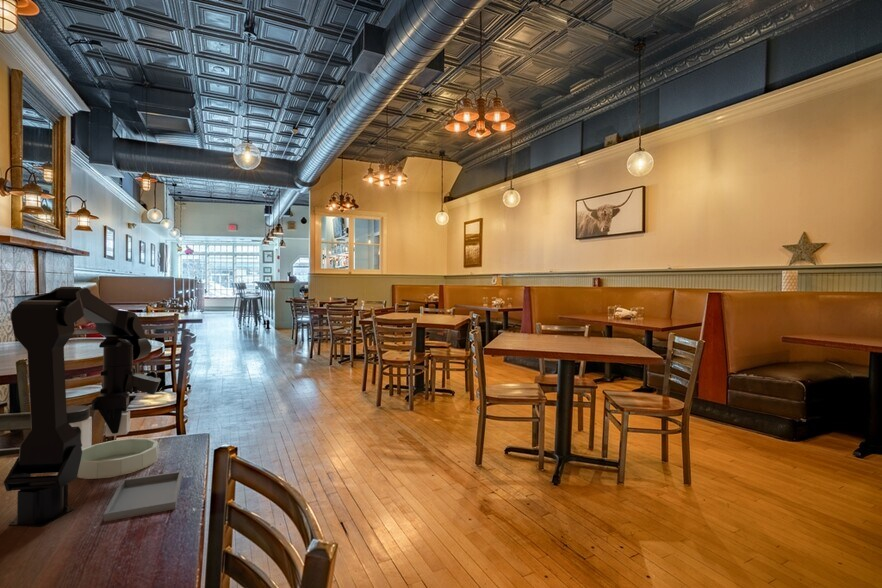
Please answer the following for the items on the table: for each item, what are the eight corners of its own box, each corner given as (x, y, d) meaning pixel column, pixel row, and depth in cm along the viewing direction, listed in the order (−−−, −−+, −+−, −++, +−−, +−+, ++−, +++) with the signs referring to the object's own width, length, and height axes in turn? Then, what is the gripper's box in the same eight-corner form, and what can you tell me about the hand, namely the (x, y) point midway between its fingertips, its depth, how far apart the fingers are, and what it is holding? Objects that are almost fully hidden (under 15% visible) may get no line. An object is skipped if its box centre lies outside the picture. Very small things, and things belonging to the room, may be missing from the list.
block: (126, 434, 103) (126, 414, 103) (105, 436, 101) (105, 416, 101) (129, 429, 106) (130, 410, 106) (109, 431, 104) (109, 412, 104)
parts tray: (175, 510, 83) (175, 501, 83) (103, 523, 78) (103, 514, 78) (182, 478, 97) (182, 470, 97) (122, 487, 92) (122, 479, 92)
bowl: (122, 481, 95) (122, 463, 95) (53, 478, 96) (53, 460, 96) (171, 454, 111) (172, 439, 111) (112, 452, 112) (112, 437, 112)
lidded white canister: (44, 467, 102) (45, 416, 102) (43, 457, 108) (44, 409, 108) (93, 457, 109) (93, 409, 109) (89, 449, 115) (90, 403, 115)
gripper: (153, 368, 99) (152, 437, 99) (163, 357, 116) (162, 416, 115) (91, 371, 94) (90, 444, 94) (111, 360, 111) (110, 421, 110)
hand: (117, 430), depth 103 cm, fingers closed on block, 4 cm apart
